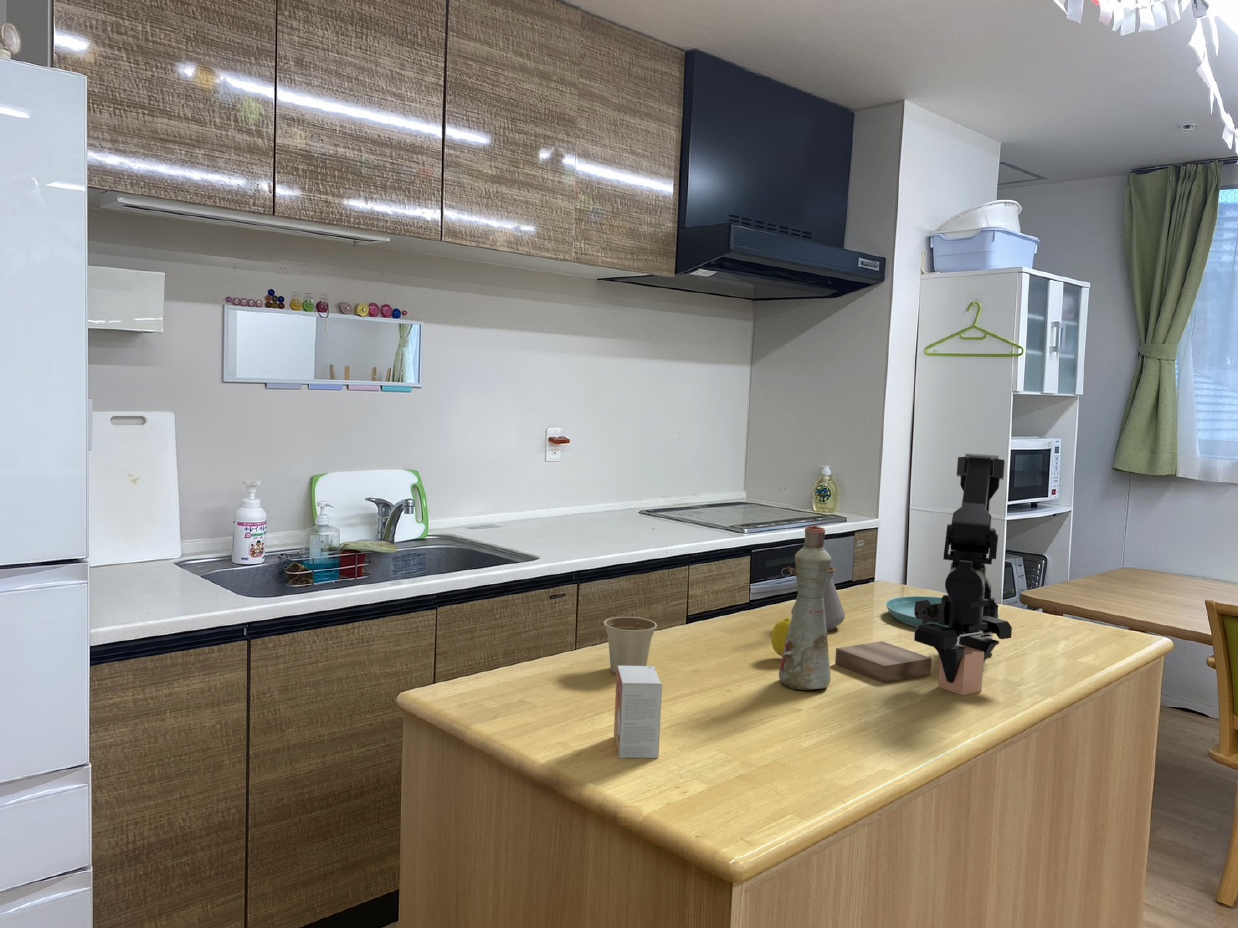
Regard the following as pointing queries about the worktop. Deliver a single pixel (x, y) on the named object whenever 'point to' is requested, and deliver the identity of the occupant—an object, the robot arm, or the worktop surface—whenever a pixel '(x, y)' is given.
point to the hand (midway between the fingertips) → (960, 680)
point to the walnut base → (883, 661)
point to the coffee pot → (828, 601)
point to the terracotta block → (965, 673)
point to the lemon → (780, 635)
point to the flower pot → (629, 641)
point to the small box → (637, 712)
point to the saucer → (909, 609)
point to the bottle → (808, 619)
